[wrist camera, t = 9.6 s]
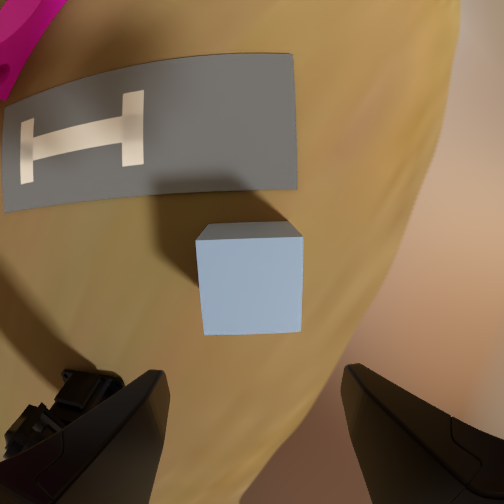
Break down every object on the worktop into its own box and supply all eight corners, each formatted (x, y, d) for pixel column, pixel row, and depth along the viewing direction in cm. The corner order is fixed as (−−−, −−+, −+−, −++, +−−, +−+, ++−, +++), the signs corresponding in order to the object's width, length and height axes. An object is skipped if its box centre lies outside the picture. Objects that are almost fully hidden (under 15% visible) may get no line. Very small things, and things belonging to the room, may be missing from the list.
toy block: (7, 101, 15) (-53, 90, 8) (-20, 86, 15) (-72, 76, 7) (103, -40, 12) (70, -83, 5) (64, -41, 12) (30, -74, 4)
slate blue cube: (288, 295, 20) (300, 331, 15) (213, 297, 20) (204, 335, 15) (288, 220, 19) (303, 236, 14) (208, 223, 18) (195, 240, 14)
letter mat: (296, 189, 18) (297, 189, 18) (5, 212, 18) (4, 212, 17) (292, 55, 16) (292, 54, 16) (6, 107, 15) (4, 107, 15)
